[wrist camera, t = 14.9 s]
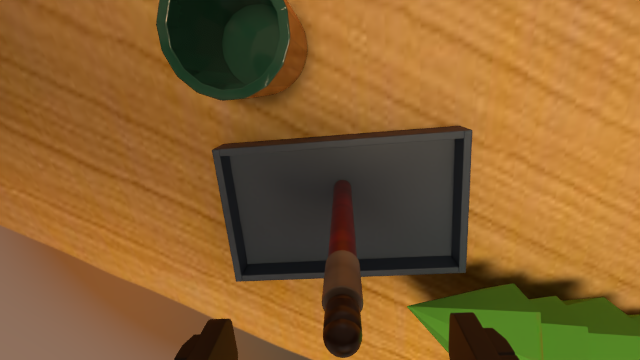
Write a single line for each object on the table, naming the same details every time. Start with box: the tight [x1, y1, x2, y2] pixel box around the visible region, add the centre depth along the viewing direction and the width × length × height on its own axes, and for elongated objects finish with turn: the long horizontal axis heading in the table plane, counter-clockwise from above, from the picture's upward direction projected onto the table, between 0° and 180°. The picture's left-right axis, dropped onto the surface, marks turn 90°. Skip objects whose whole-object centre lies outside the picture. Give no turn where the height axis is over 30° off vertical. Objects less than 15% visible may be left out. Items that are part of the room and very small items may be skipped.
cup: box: [156, 0, 307, 101], centre depth 21 cm, size 7×7×9 cm
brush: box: [322, 180, 363, 358], centre depth 19 cm, size 2×2×18 cm
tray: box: [212, 126, 472, 281], centre depth 28 cm, size 20×12×3 cm, turn 95°
